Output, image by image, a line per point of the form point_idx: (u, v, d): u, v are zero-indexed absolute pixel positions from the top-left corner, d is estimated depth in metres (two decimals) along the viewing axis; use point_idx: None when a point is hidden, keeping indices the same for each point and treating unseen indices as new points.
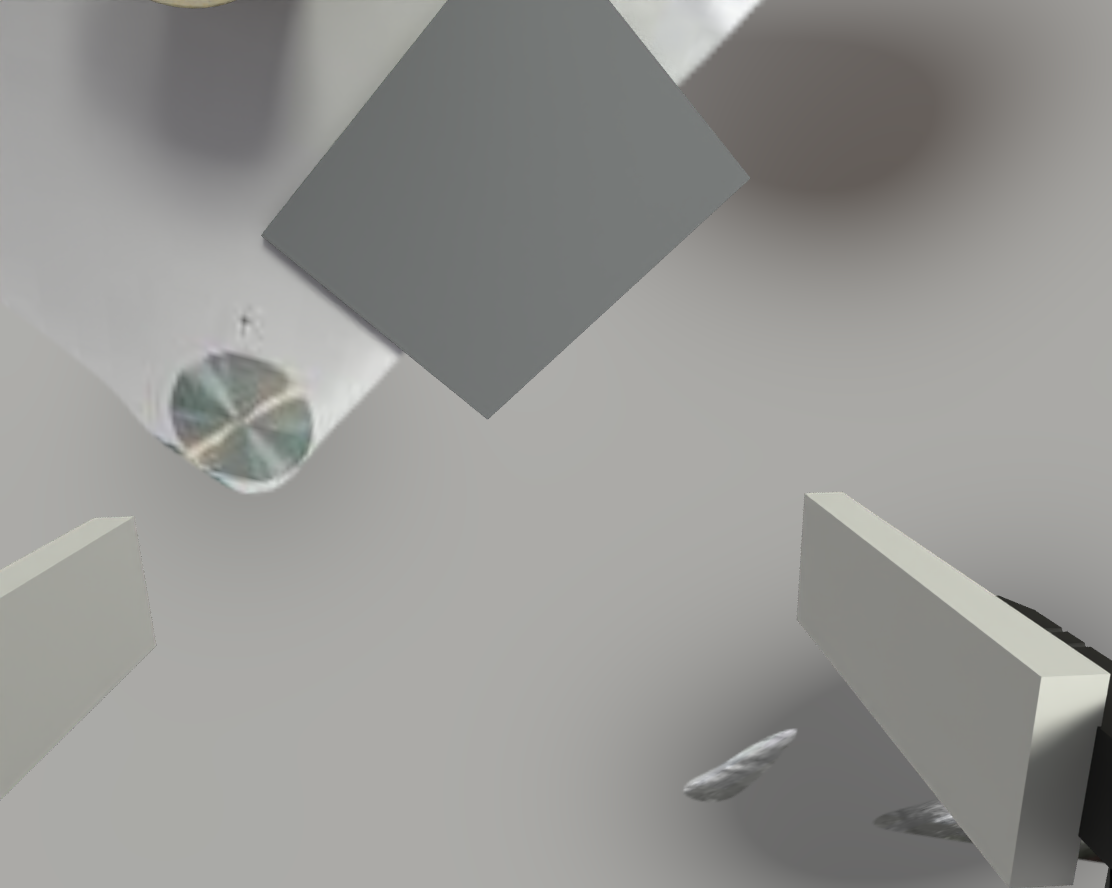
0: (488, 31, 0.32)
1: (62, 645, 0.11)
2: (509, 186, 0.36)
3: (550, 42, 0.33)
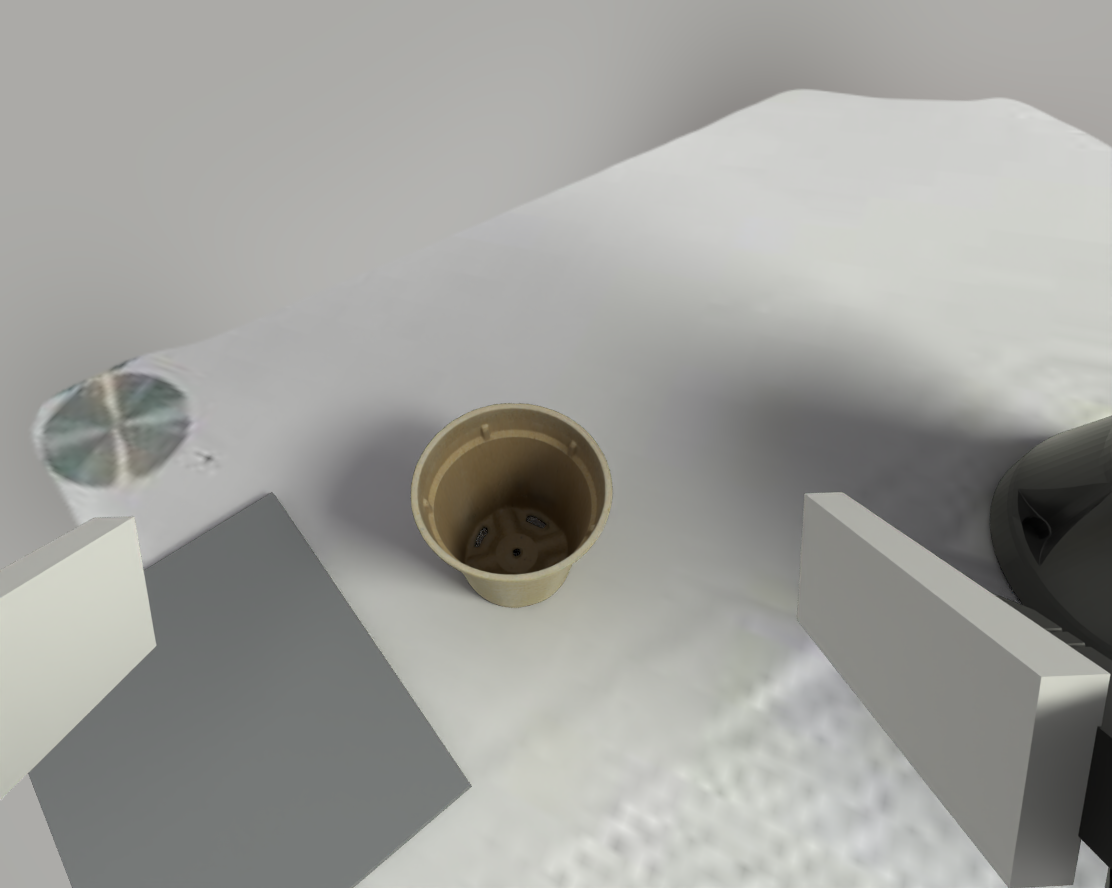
0: (378, 730, 0.34)
1: (62, 645, 0.11)
2: (237, 731, 0.34)
3: (355, 794, 0.33)
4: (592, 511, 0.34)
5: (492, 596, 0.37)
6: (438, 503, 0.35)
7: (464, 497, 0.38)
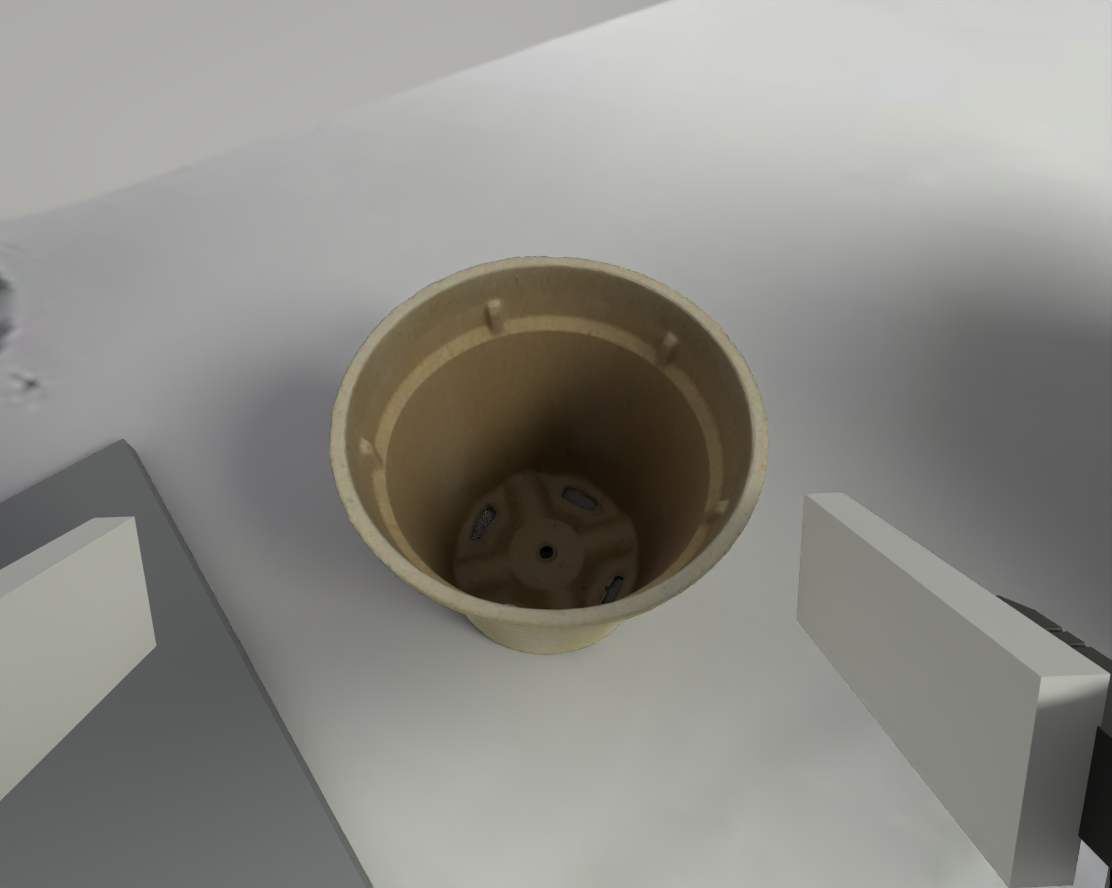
0: None
1: (62, 645, 0.11)
2: None
3: None
4: (712, 473, 0.17)
5: (502, 636, 0.19)
6: (397, 453, 0.18)
7: (453, 449, 0.21)
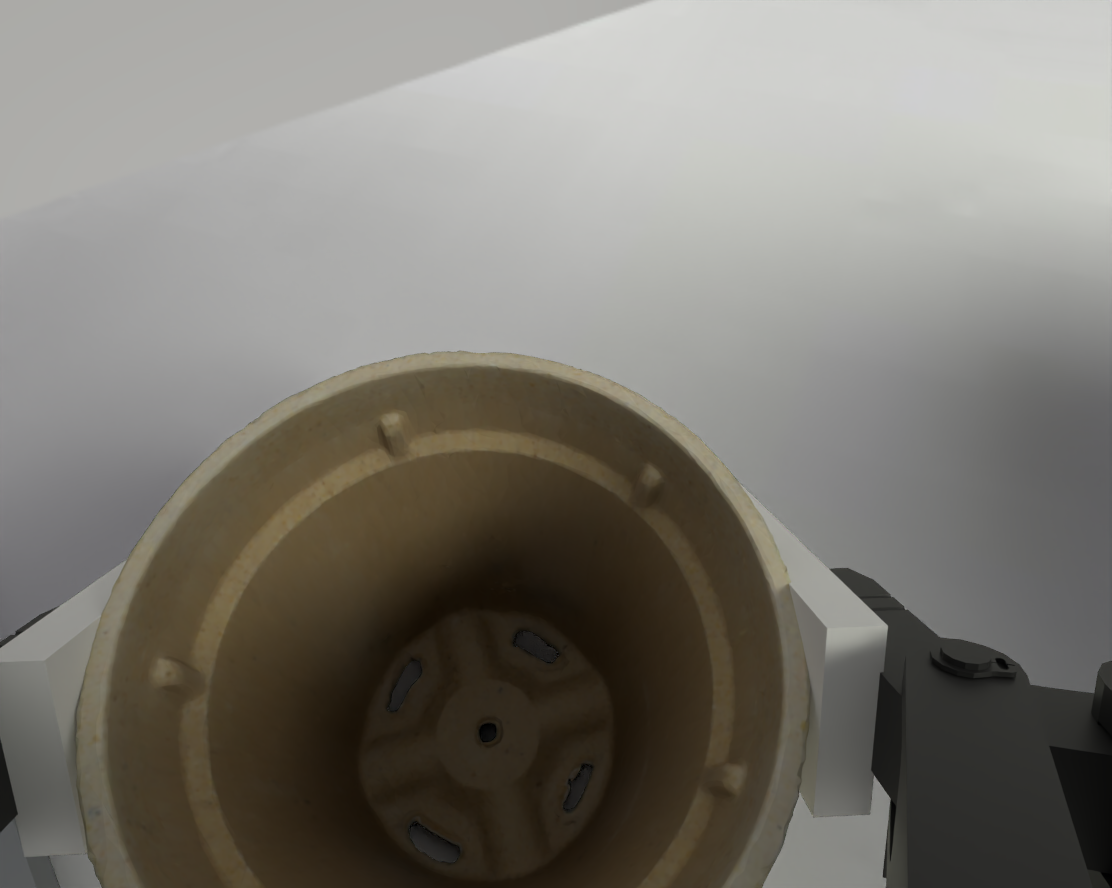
0: None
1: None
2: None
3: None
4: (717, 693, 0.11)
5: None
6: (243, 648, 0.12)
7: (350, 605, 0.15)
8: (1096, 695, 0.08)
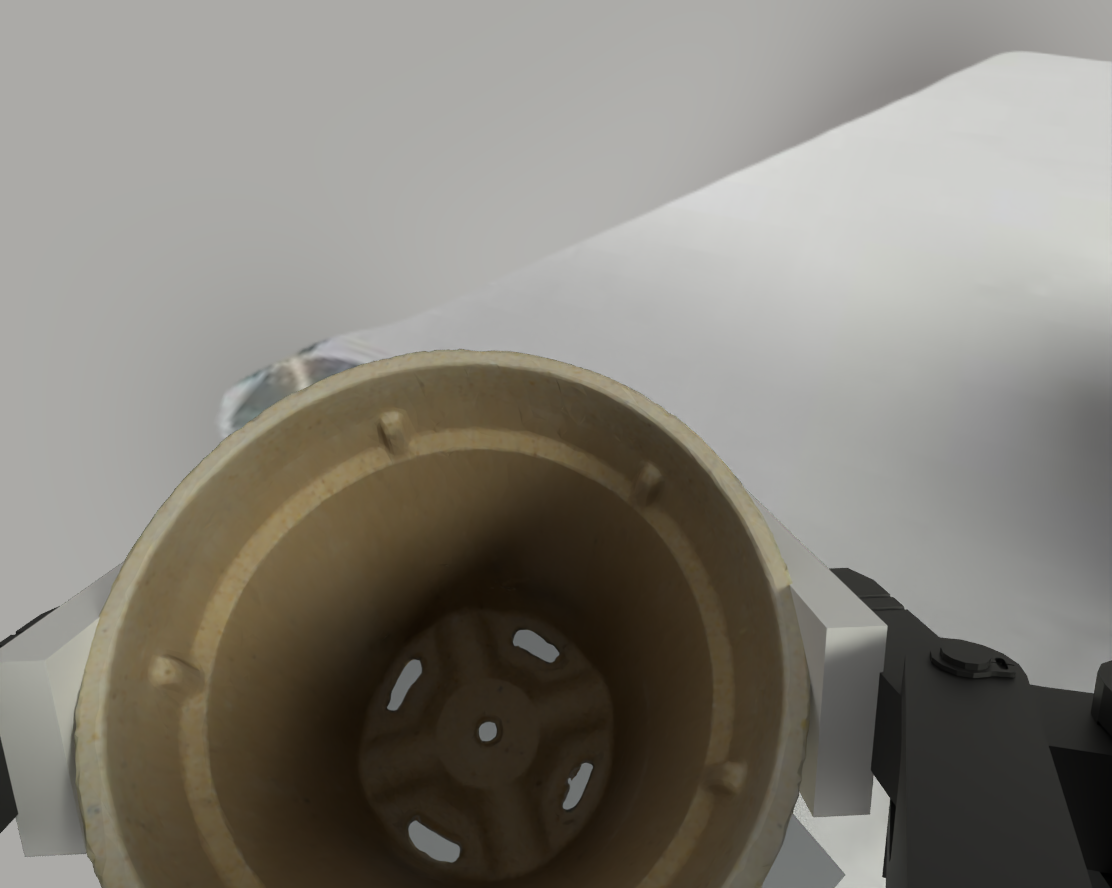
0: None
1: None
2: None
3: None
4: (717, 691, 0.11)
5: None
6: (243, 646, 0.12)
7: (350, 604, 0.15)
8: (1095, 695, 0.08)
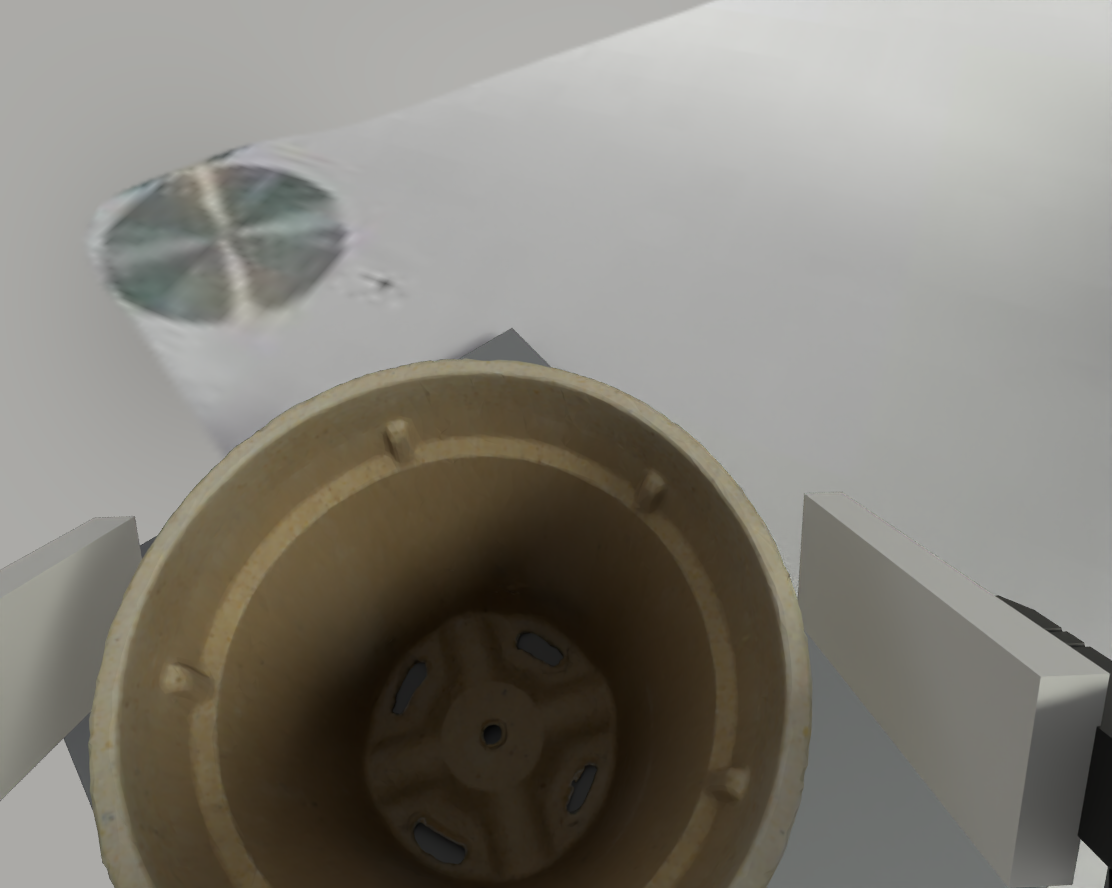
0: (825, 755, 0.17)
1: (63, 645, 0.11)
2: None
3: None
4: (720, 698, 0.11)
5: None
6: (251, 652, 0.12)
7: (356, 609, 0.15)
8: None
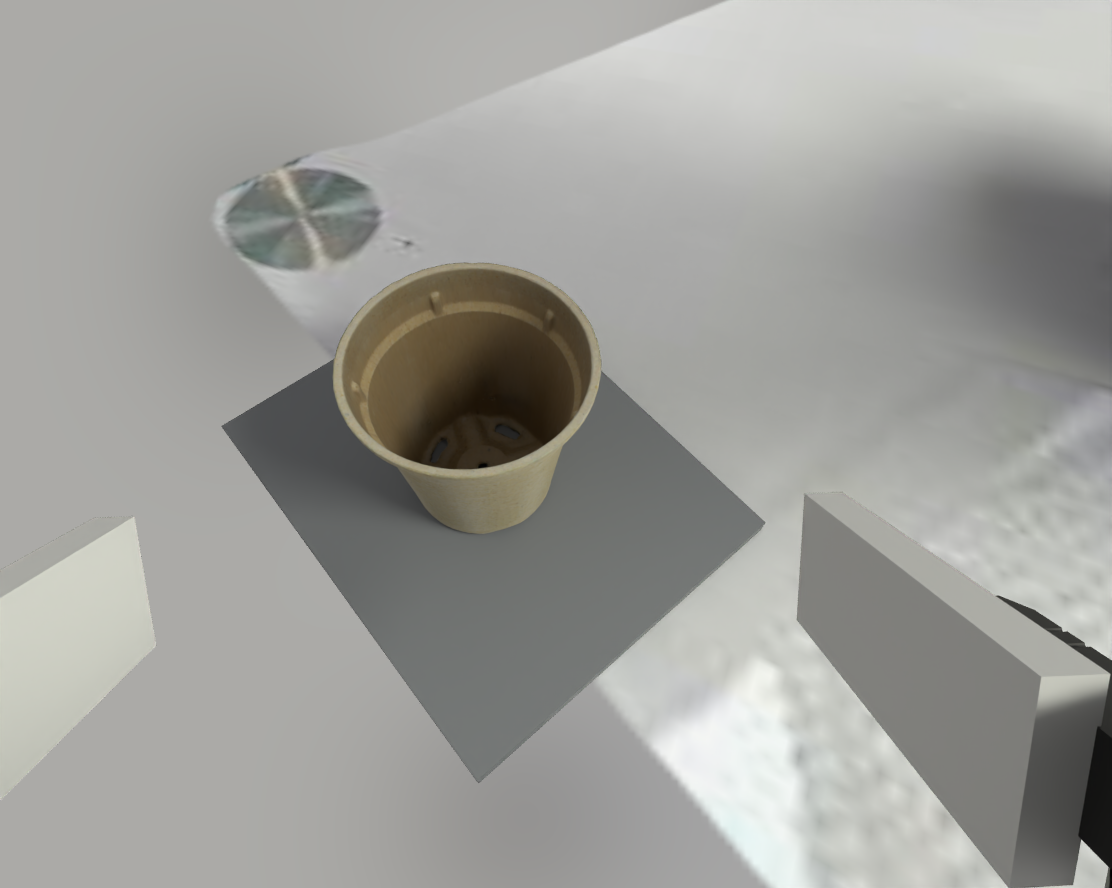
0: (656, 476, 0.32)
1: (62, 645, 0.11)
2: None
3: (645, 533, 0.31)
4: (575, 397, 0.26)
5: (450, 516, 0.29)
6: (375, 394, 0.27)
7: (414, 395, 0.30)
8: None
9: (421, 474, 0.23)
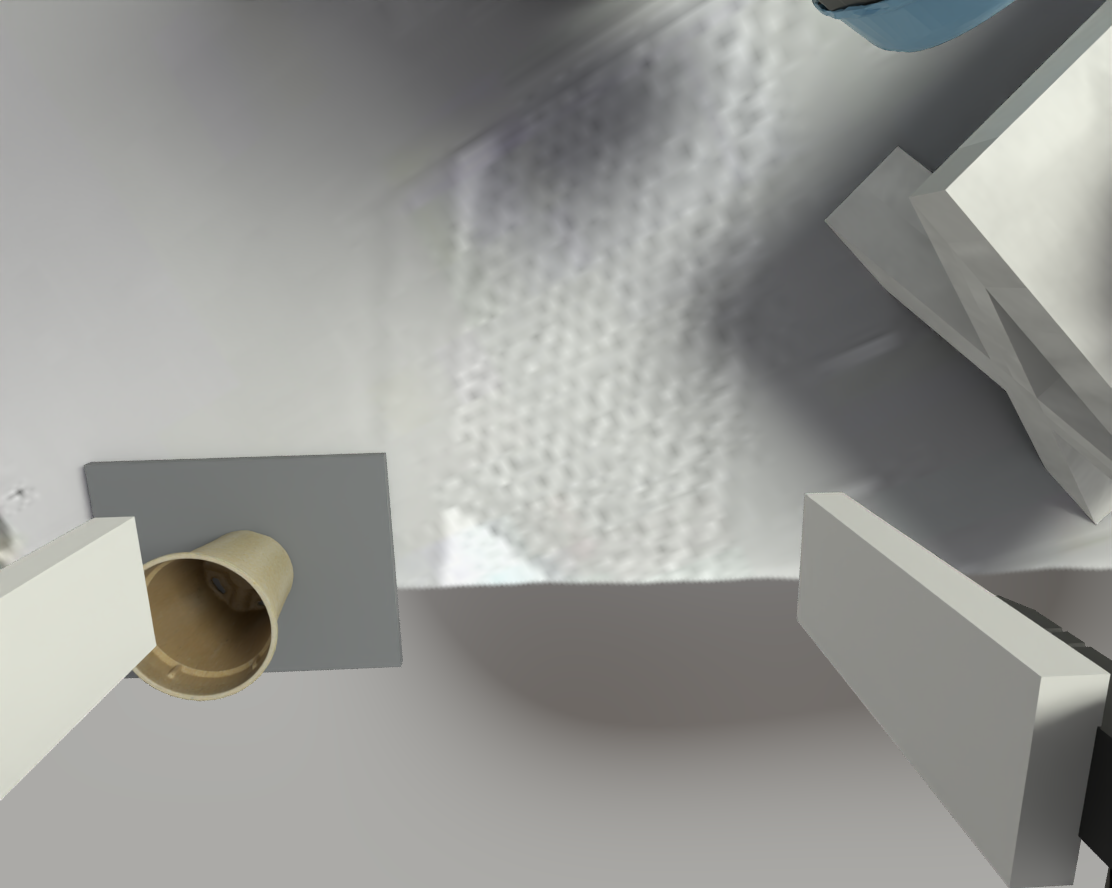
0: (315, 487, 0.48)
1: (62, 645, 0.11)
2: None
3: (344, 518, 0.49)
4: None
5: (268, 620, 0.48)
6: (176, 650, 0.44)
7: (180, 607, 0.46)
8: None
9: (249, 684, 0.42)
